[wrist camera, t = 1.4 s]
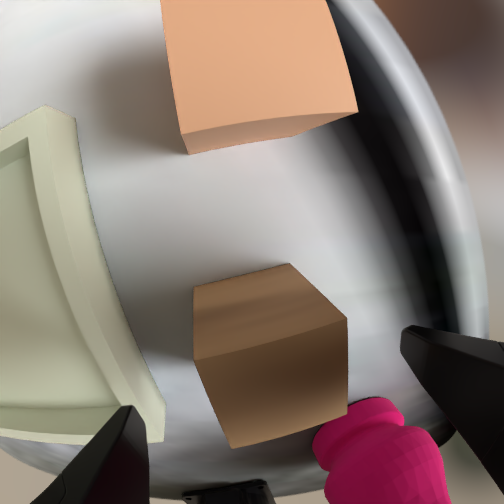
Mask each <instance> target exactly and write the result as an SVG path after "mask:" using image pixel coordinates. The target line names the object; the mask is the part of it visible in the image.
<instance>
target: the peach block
mask: <svg viewBox="0 0 504 504" xmlns="http://www.w3.org/2000/svg"><path fill="white" fill-rule="evenodd" d="M160 3H161V11H162V19H163V27H164V34H165V41H166V48H167V55H168V62H169V68H170V75H171V81H172V87H173V93H174V99H175V104H176V110H177V116H178V121H179V126H180V132H181V136H182V138H183V141H184V143H185V146H186V148H187V151H188V153H189V155H191V154H195V153H200V152H205V151H209V150H214V149H219V148H224V147H229V146H235V145H240V144H246V143H252V142H258V141H264V140H271V139H278V138H285V137H292V136H295V135H297V134H300V133H302V132H305V131H307V130H310V129H312V128H315V127H318V126H320V125H323V124H326V123H328V122H331V121H334V120H337V119H339V118H342V117H345V116H348V115H351V114H354V113H357V112H358V108H357V104H356V99H355V95H354V91H353V87H352V83H351V79H350V75H349V71H348V68H347V64H346V60H345V57H344V54H343V50H342V47H341V44H340V40H339V37H338V34H337V31H336V28H335V25H334V22H333V20H332V17H331V14H330V11H329V8H328V6H327V3H326V1H325V0H160Z"/></svg>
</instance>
